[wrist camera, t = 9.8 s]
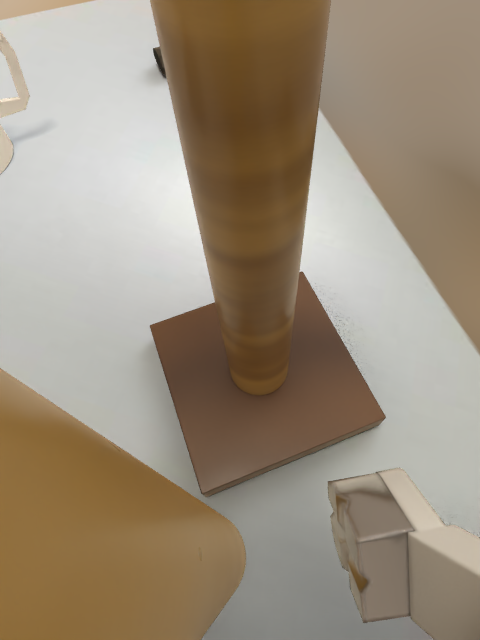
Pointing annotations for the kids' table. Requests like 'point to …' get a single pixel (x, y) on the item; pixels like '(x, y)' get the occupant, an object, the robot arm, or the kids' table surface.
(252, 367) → the paper towel holder
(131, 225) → the kids' table surface
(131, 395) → the kids' table surface
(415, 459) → the kids' table surface
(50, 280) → the kids' table surface
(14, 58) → the cup
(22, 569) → the bent wooden pipe
